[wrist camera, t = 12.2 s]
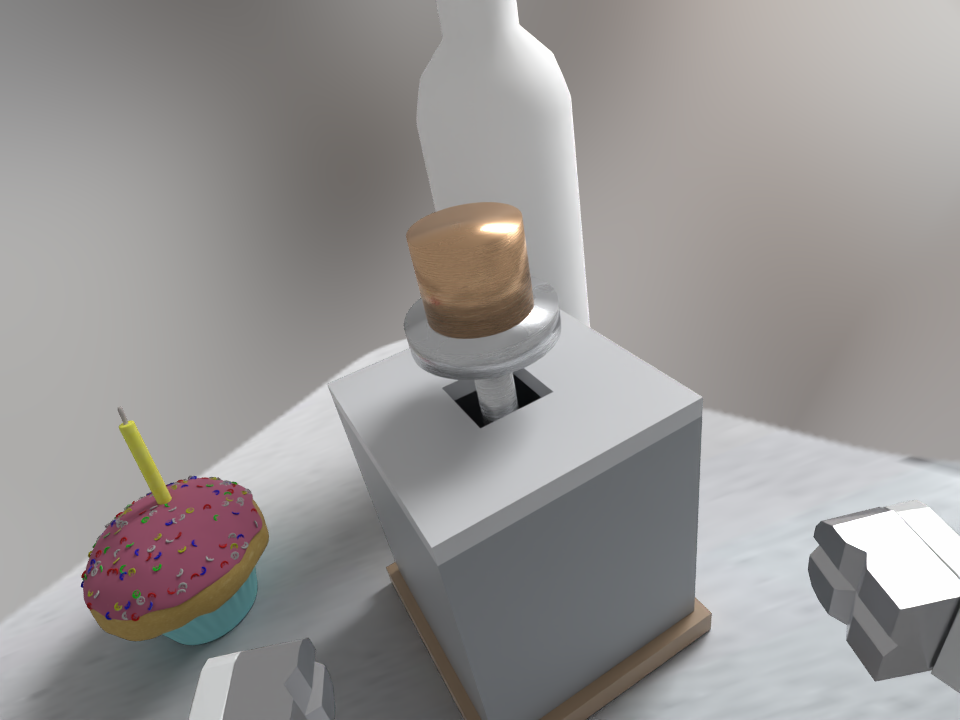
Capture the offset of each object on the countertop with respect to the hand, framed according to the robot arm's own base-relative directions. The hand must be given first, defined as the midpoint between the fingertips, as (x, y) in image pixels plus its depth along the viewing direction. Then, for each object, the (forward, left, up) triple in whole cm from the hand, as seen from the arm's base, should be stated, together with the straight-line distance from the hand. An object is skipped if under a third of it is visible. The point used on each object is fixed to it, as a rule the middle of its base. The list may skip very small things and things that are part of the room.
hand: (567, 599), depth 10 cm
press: (-4, -11, -18) cm, 21 cm away
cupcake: (+10, -21, -18) cm, 29 cm away
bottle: (-12, -23, -18) cm, 32 cm away
